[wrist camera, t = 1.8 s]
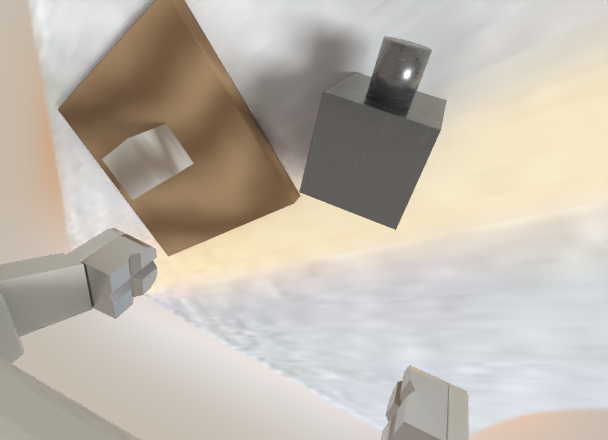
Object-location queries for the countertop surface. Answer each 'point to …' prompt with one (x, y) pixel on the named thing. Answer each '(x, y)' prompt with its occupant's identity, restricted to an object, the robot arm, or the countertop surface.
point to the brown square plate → (177, 132)
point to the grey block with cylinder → (375, 136)
